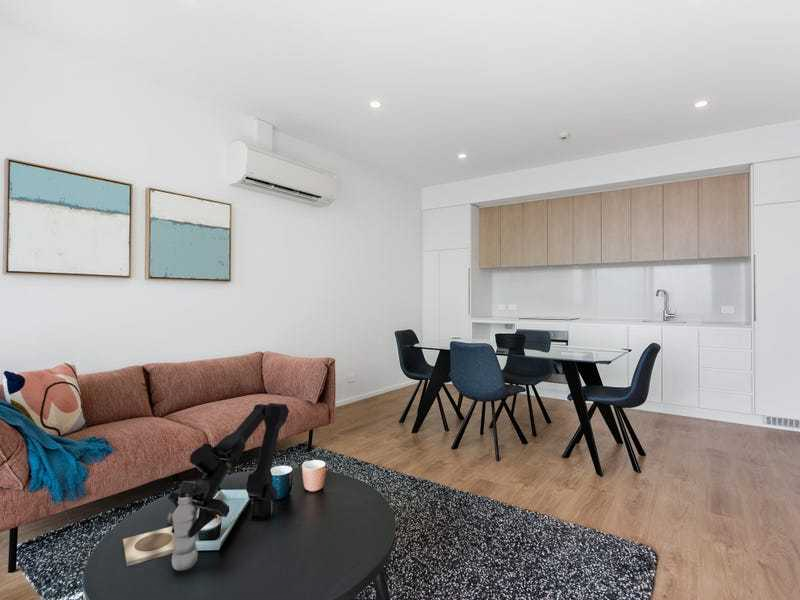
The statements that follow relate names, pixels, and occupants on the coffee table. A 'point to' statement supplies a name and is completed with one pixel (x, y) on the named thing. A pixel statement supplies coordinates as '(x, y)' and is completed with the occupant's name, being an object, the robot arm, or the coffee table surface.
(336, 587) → the coffee table surface
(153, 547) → the ash board
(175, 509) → the wristwatch
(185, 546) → the plastic bottle
